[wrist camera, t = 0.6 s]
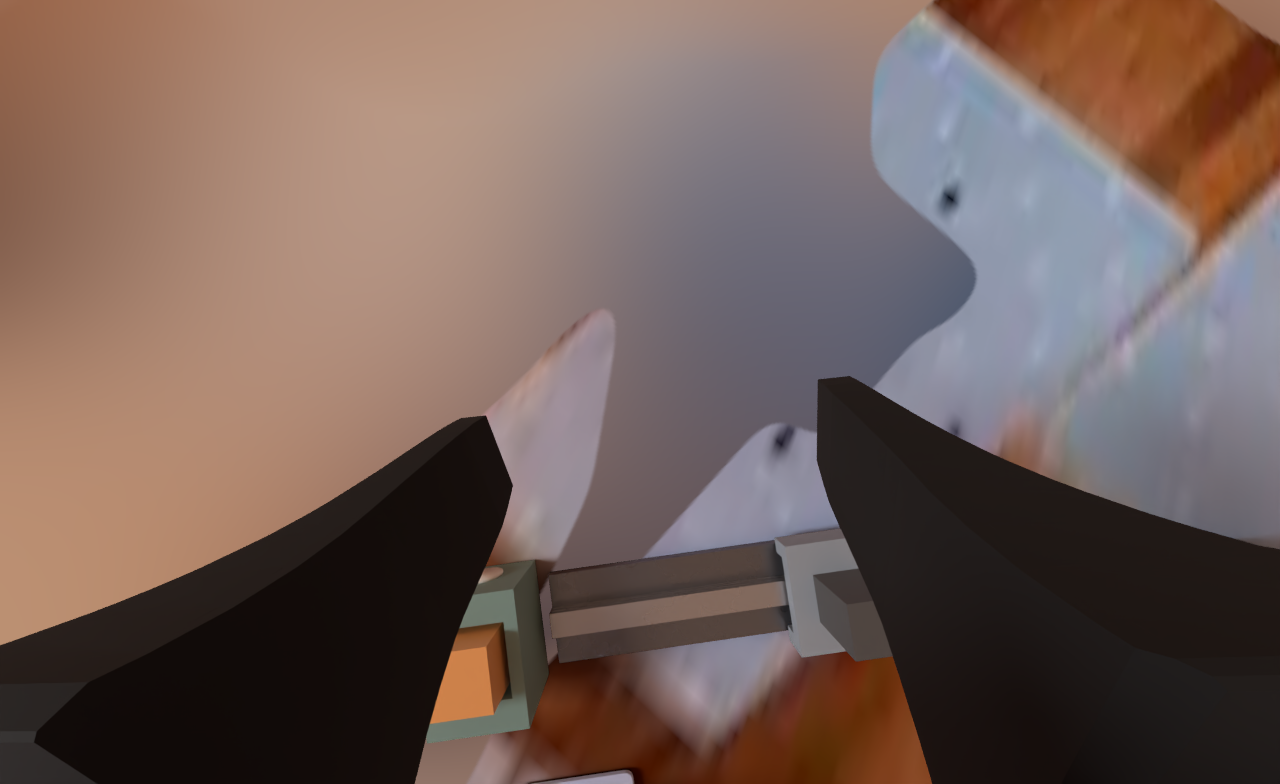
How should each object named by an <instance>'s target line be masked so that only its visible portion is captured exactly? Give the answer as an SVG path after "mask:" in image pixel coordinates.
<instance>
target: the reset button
mask: <svg viewBox="0 0 1280 784" xmlns="http://www.w3.org/2000/svg"><path fill="white" fill-rule="evenodd" d="M509 683H510V674H509V666H508V657H507V649H506V640H505V631H504V623H503V622H500V623H493V624H486V625H479V626H472V627H465V628H459V631H458V633H457V636H456V639H455V642H454V645H453V648H452V651H451V654H450V658H449V661H448V664H447V667H446V670H445V673H444V677H443V680H442V683H441V686H440V690H439V693H438V697H437V700H436V704H435V708H434V711H433V715H432V718H431V722H430V724H433V723H440V722H447V721H454V720H461V719H468V718H475V717H481V716H488V715H494V713H495V711H496V709H497V707H498V705H499V703H500V701H501V699H502V697H503V695H504V693H505V691H506V689H507V687H508V685H509Z"/></svg>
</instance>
